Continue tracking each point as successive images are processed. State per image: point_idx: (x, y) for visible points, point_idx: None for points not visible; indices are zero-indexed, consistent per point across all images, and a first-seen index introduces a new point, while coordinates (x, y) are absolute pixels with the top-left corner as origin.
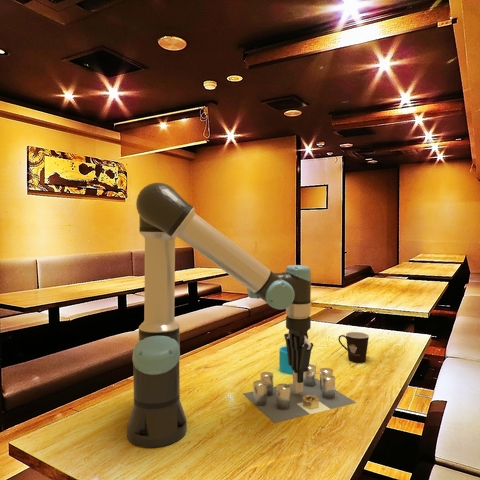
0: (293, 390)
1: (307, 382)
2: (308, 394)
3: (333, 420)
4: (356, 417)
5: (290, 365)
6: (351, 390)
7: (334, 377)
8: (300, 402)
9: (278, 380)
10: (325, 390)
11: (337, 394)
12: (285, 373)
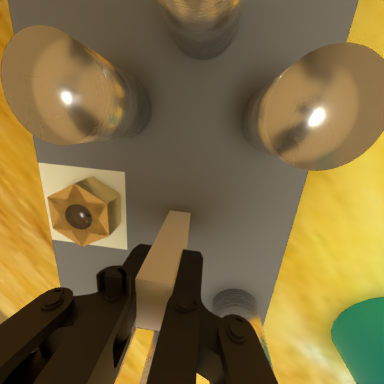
0: (186, 214)
1: (224, 303)
2: None
3: (5, 204)
4: (9, 264)
5: (222, 320)
6: (145, 355)
7: None
8: (126, 190)
9: (353, 250)
10: None
11: None
12: (375, 305)
